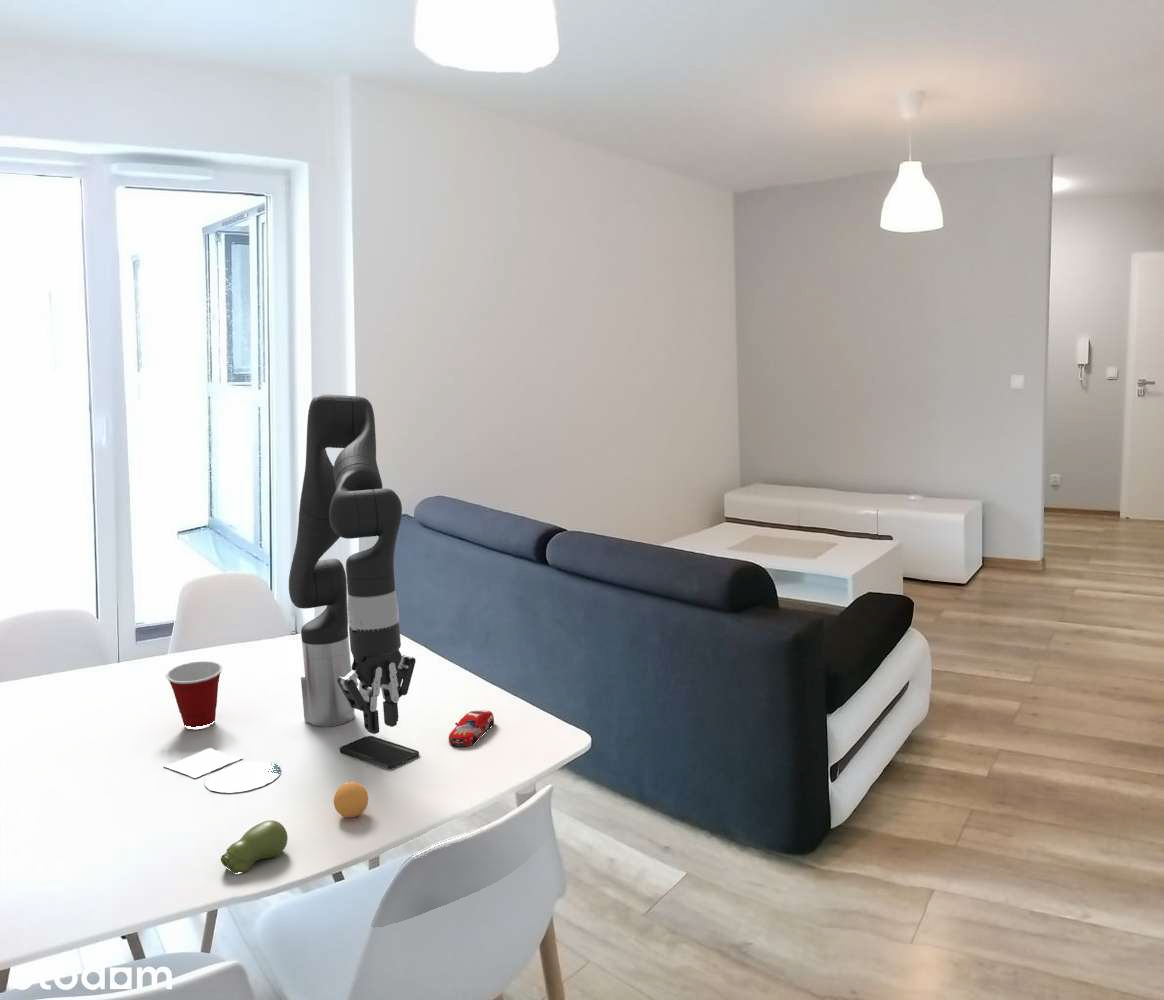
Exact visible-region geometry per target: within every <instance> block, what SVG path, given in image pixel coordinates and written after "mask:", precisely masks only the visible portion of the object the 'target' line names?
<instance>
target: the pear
mask: <svg viewBox="0 0 1164 1000" xmlns="http://www.w3.org/2000/svg"><path fill="white" fill-rule="evenodd" d="M288 840H289V839H288V832H287V830H286V828H285V826H284V825H283V824H282V823H281V822H279V821H276V820H273V819H272V820H271V819H270V820H264V821H262V822H260V823H258V824H256V825H254V826H252V827H251V828H250V829H248V830H247V831H246V832H245V833H244V834H243V835H242V836H241V838H240V839H239V840H237V841H236V842H234V843H232V844H230V846H228V847H227V849H226V850H225V851H226V852H225V853H224V854H222V855H221V857H220V862H221V864H222V866H224V867H227V868H228V869H230V870H231V871H232V872H234V873H238V872H245V873H247V872H248V871H249V870H251V867H252V866H253V864H254V863H255V862H256V861H258V860H265V859H271V858H274V857H277V856H279V855H280V854H281V853H282V852H283V851H284V850H285V848H286V847H287V844H288ZM228 869H227V870H228ZM231 871H230V872H231ZM246 871H247V872H246ZM232 872H231V873H232Z"/></svg>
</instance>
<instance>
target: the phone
mask: <svg viewBox="0 0 1164 1000" xmlns="http://www.w3.org/2000/svg"><path fill="white" fill-rule="evenodd" d="M338 751H339V753H340V754H342V755H345V756H348V757H351V758H353V759H356V760H358V759H359V760H360V761H361V762H364V763H368V764H370V765H373V766H375V767H376V766H377V767H378V768H382V769H385V770H393V769H396V768H398V767H401V766H403V765H405V764H406V763H409V762H411V761H414V760H416V759H418V758H419V757H420V752H419V750H417V749H414V748H410V747H407V746H404V745H401V744H398V743H394V742H392V741H389V740H386V739H382V738H379V737H377V736H373V735H366V736H363V737H360V738H358V739H356V740H354V741H352V742H349V743H347V744H346V743H345V744H344V745H342V746H340V747H339V748H338ZM415 758H416V759H415ZM413 759H414V760H413Z"/></svg>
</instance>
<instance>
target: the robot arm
mask: <svg viewBox="0 0 1164 1000" xmlns="http://www.w3.org/2000/svg"><path fill="white" fill-rule="evenodd" d="M307 412H308V414H307V421H306V422H307V423H306V424H307V426H306V446H305V447H306V448H305V467H304V475H303V480H302V489H301V493H300V494H301V495H300V499H299V502H300V503H299V510H298V522H297V523H298V525H297V534H296V535H297V536H296V541H295V547H294V553H293V556H292V562H291V565H290V569H289V576H288V593H289V598H290V600H291V603H292V604H293V605H294V607H296V608H297V609H298V608H299V609H305V610H307V609H313V608H320V607H325V606H326V607H325V609H324V610H323V612H321V613H320V614H319V615H318V616H316V617H314V618H313V619H311V620H309V621H307V622H306V623H305V624H304V625H303V626H302V627H301V629H300V635H301V636H300V637H301V646H302V647H301V648H302V656H303V669H304V674H303V675H302V676H301V678H300V685H301V697H302V706H303V719H304V722H307V723H309V724H311V725H312V726H316V727H334V726H338V725H342V724H346V723H348V722H350V721H352V720H353V719H354V718H355V716H356V715H355V714H356V713H355V710H357V711H358V710H359V711H361V712H363V715H362V717H363V724H364V725H363V726H364V729H365V730H366V731H367V732H368V733H369V734H372V735H376V734H378V733H379V732H380V723H379V722H380V720H379V711H378V709H377V708H378V696H380V692H381V694H382V698H383V700H384V701H382V709H383V710H382V711H383V719H384V720H383V721H384V725H386V726H388V727H391V728H394V727H395V726H397V724H398V721H399V708H398V706H399V705H398V702H399V701H400V698H401V697H402V696H406V695H408V693H409V690H410V689H409V688H410V685H411V680H412V677H413V674H414V673H413V672H414V669H415V665H416V662H417V660H416V658H415V657H413V656H409V655H404V654H403V655H402V652H401V651H400V649H401V646H402V642H401V629H400V627H401V626H400V615H399V602H398V597H397V593H396V582H395V581H396V580H395V566H394V565H395V563H394V562H395V551H396V543H397V539H398V534H399V530H400V526H401V522H402V513H403V508H402V507H403V506H402V505H403V504H402V502H401V499H400V497H399V496H398V494H397V493H396V492H395V491H394V490H392V489H390V488H383V482H382V481H383V480H382V478H381V474H380V471H379V467H378V462H377V437H376V420H375V413H374V408H373V406H372V404H371V402H370V401H369V399H368V398H366V397H363V396H358V395H342V394H341V395H340V394H331V393H330V394H328V393H327V394H324V393H323V394H317V395H315V396H314V397H313V398H312V399H311V401H310V404H309V407H308V411H307ZM327 448H328V449H329V448H331V449H333V448H334V449H342V450H341V451H340V452H339V454H338V456H337V457H336V459H335V461H334V465H333V463H332V461H331V460H330V457H329V456H328V453H327ZM371 537H378V539H377V541H376V543H374V545H373V546H372V547H368V549H367V548H366V549H365V550H362V551H358V552H355V553H353V554H351V555H349V556H348V557H347V559H346V561H345V567H344V565H343V563H342V562H341V560H340V559H337V558H328V559H327V558H326V559H321V558H322V557H323V556H324V555H325V553H326V552H327V551H329V550H330V548H332V546H334V545H335V543H336V542H338V540H339V539H340V538H341V539H345V540H346V539H347V540H351V539H352V540H353V539H358V538H359V539H362V538H371ZM351 655H352V657H353V660H352V661H353V662H352V664H351ZM358 680H359V683H358ZM380 690H381V691H380Z"/></svg>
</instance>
